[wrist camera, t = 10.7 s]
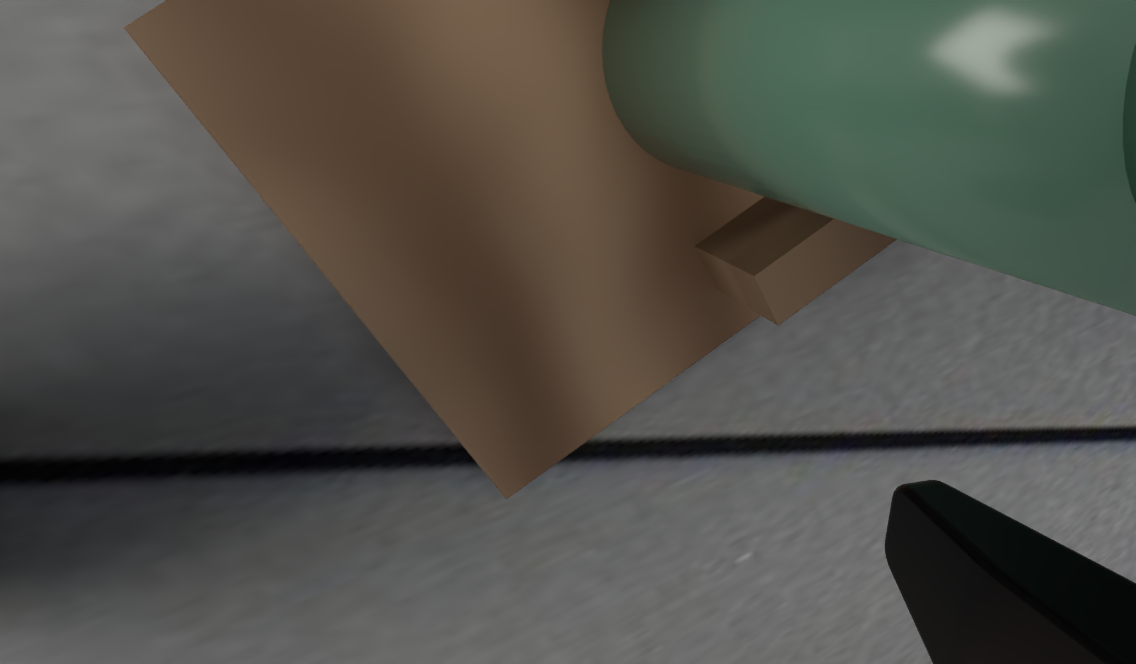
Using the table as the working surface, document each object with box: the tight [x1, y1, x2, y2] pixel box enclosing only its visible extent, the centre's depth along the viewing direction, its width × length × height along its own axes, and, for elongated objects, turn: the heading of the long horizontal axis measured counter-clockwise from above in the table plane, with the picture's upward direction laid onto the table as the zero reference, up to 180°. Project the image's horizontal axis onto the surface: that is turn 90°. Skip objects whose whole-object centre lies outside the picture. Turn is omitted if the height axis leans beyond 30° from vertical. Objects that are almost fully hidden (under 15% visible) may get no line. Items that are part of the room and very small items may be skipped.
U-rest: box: [124, 0, 897, 499], centre depth 18 cm, size 18×14×4 cm
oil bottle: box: [602, 0, 1136, 315], centre depth 11 cm, size 6×6×18 cm
